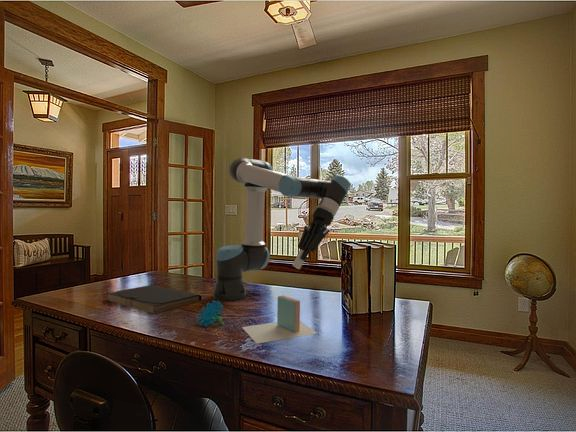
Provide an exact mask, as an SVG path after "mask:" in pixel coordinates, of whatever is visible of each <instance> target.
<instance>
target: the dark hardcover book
mask: <svg viewBox="0 0 576 432" xmlns="http://www.w3.org/2000/svg"><path fill="white" fill-rule="evenodd" d="M106 294H107V301H108V302H112V303H114V304H118V305H122V306H125V307H129V308H131V309H132V308H133V309H136V310H141V311H145V312H147V313H150V314H153V315H155V314H159V313H163V312H167V311H170V310H173V309H176V308H179V307H183V306H186V305H191V304H193V303H194V304H195V303H197V302H199V301H200V302H201V301H202V296H201V294H196V293H194V292H193V293H192V292H187V291H184V290H183V291H182V290H178V289H174V288H169V287H164V286H159V285H155V284H149V285H144V286H139V287H134V288H133V287H132V288H126V289H120V290H116V291H113V292H107V293H106Z"/></svg>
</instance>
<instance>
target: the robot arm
mask: <svg viewBox="0 0 576 432" xmlns="http://www.w3.org/2000/svg"><path fill="white" fill-rule="evenodd" d="M228 173H229V176H230V177H231V179H232V180H233V181H235V182H237V183H241V184H244V189H245V190H246V212H245V232H244V233H245V236H244V240H243V241H242V242H241V245H240V244H232V245H231V244H229V245H225V246H221V247H219V248H218V250H217V253H216V282H215V285H214V288H213V290H212V298H213V299H215V300H217V301H238V300H242V299H245V298H246V296H247V292H246V291H247V290H246V288H245V284H244V281H243V273H246V272H252V271H259V270H262V269H265V268H266V267H267V265H268V264H269V262H270V258H271V257H270V256H271V255H270V254H271V253H270V251H269V249H268V248H267V246H266V242H265V241H264V240H263V238H264V237H263V236H264V221H265V220H264V219H265V217H264V215H265V199H266V198H265V197H266V196H265V195H266V192H267V190H272V191H275V192H278V193H280V194H281V195H282V196H284V197H288V198H308V199H318V200H319V199H320V201H319V203H318V204H317V206H316V207H317V208H315V210H314V212H313V214H312V216H311V217H312V221H311V222H310V224H309V225H304V227H303V233H302V234H301V237H300V240H299V242H298V245H297V248H299V251H298V253H297V255H296V257H295V259H294V261H293V263H292V264H291V265H292V266H293V267H294V268H295V269H297V270H300V269H301V268H302V266H303V264H304V263H305V260H306V259H307V257H308V255H309V254H311V253H314V252H315V251H316V250H317V248H318V247H319V245H320V244H321V243H322V241H323V240H324V238H325V237H326V236H327V235H328V234H329V233H330V230H329V229H328V227H329V226H330V225H332V222H333V220H334V219H335V216H336V215H337V212H338V210H339V209H340V206H341V204H342V203H343V201H344V200H345V197H346V196H347V195H348V191H349V189H350V187H351V182H350V181H349V179H348V178H347V177H345V176H343V175H339V174H337V175H334V176H333V177H332V178H331V180H324V179H316V178H307V177H300V176H294V175H290V174H288V173H287V174H286V173H282V172H280V171H275V170H274V169H273V166H272V165H271V164H270V163H269V162H267V161H264V160H261V159H252V158H247V157H239V158H236V159H234V160H233V161H231V163H230V165H229V169H228Z"/></svg>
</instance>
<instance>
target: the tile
mask: <svg viewBox="0 0 576 432" xmlns="http://www.w3.org/2000/svg"><path fill="white" fill-rule="evenodd" d="M300 308H301V301H300V300H299V299H295V298H291V297H289V296H286V295H279V296H278V297H277V310H276V311H277V314H276V315H277V319H276V322H277V325H279V326H281V327H283V328H286V329H288V330H290V331H292V332H298V331H300V321H301V317H300V316H301V309H300Z"/></svg>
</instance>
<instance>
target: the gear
mask: <svg viewBox="0 0 576 432" xmlns="http://www.w3.org/2000/svg"><path fill="white" fill-rule="evenodd" d="M223 307H224V305H223V304H221V302H220V300H217V301H216V300H212V301H211V302H207V303H206V306H203V307H202V308H201V310H202V312H203V313H202V312H199V313H198V314H197V316H198V318H197V322H198V323H199V326H200V327H203V326H204V327H205V328H207V327H208V326H209V325H210V326H212V325H214V323H215V322H216V323H217V324H221V325H222V326H223V325H225V323H224V322H223V317H222V316H221V315H222V314H223V310H222V309H223ZM218 314H219V315H220V316H219V315H218ZM214 321H215V322H214Z"/></svg>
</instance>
